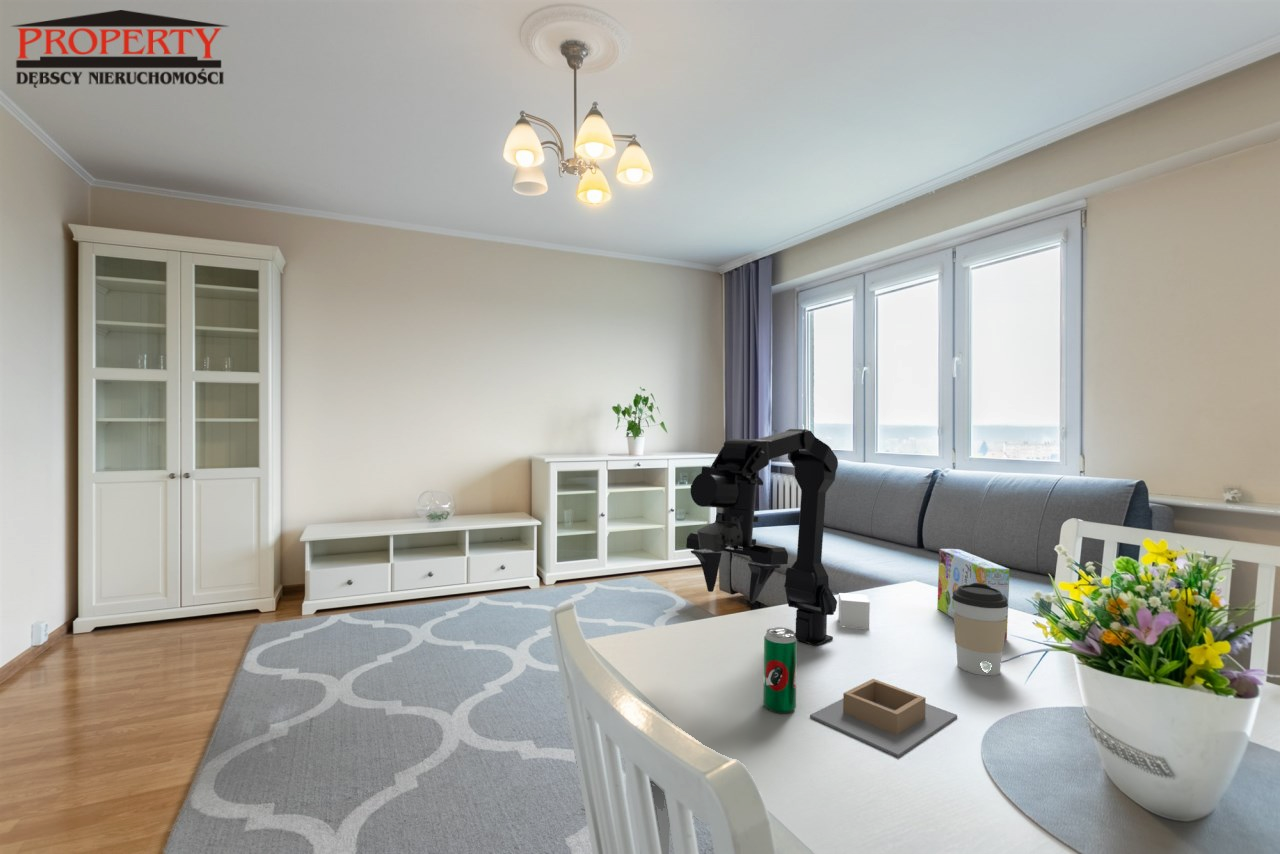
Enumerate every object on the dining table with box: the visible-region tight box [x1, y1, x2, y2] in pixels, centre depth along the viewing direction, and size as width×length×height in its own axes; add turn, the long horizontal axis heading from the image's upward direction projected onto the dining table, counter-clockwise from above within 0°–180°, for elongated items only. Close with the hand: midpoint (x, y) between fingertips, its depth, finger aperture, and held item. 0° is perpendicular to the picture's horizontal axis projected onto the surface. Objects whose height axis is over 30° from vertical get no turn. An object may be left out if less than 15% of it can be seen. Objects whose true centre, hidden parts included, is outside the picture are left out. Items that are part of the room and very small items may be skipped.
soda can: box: [762, 626, 798, 714], centre depth 95 cm, size 5×5×12 cm
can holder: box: [809, 678, 958, 758], centre depth 92 cm, size 18×14×3 cm
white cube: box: [838, 592, 871, 630], centre depth 136 cm, size 6×6×6 cm
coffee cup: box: [952, 583, 1009, 676], centre depth 112 cm, size 9×9×15 cm
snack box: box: [937, 548, 1010, 640], centre depth 138 cm, size 21×6×15 cm, turn 179°
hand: (730, 597), depth 107 cm, fingers open, 9 cm apart
